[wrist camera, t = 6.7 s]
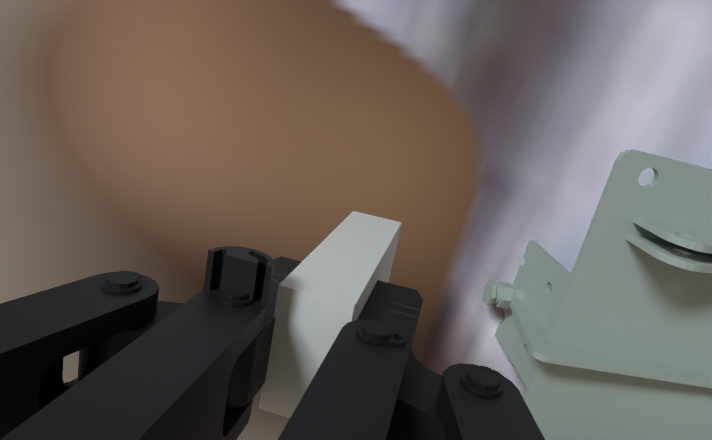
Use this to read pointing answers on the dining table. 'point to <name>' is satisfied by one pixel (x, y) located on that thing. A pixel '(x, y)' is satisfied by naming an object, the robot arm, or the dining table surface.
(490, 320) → the dining table surface
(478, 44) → the dining table surface
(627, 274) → the metal bracket
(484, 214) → the dining table surface
